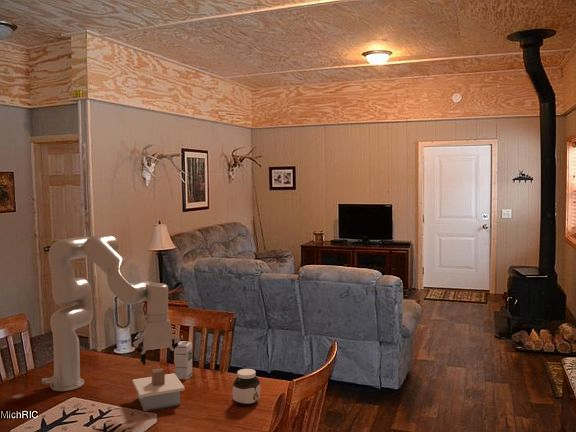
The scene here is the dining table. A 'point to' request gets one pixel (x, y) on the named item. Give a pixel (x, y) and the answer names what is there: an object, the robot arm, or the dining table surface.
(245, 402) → the spread jar
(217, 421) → the dining table surface
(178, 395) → the dish
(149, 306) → the robot arm
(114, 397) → the dining table surface
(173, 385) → the lid
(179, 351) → the syrup box
